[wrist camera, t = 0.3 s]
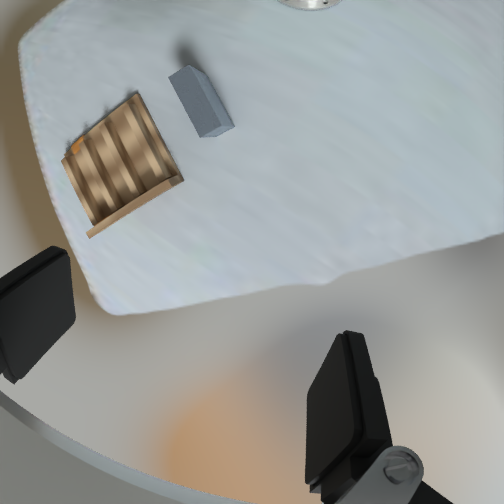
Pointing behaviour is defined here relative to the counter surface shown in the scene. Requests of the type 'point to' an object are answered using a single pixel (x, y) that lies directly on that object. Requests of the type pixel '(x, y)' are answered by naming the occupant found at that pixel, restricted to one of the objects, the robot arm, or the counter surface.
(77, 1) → the counter surface
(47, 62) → the counter surface
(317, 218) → the counter surface
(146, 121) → the rack
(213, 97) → the block
